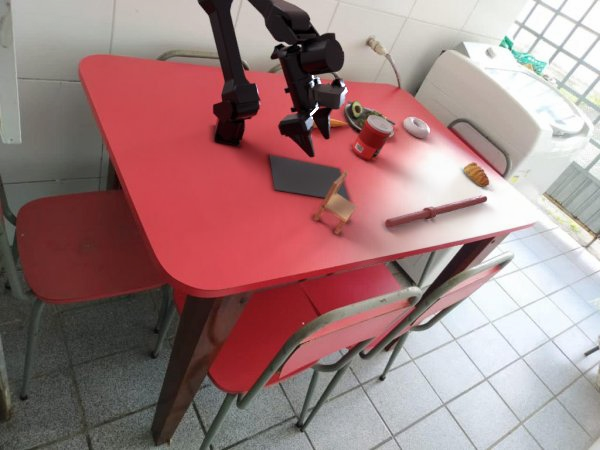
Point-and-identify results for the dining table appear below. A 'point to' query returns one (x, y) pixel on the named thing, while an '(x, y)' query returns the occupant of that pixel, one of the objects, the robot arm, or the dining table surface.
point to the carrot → (333, 123)
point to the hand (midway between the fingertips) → (320, 147)
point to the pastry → (476, 174)
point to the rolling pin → (433, 211)
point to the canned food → (372, 137)
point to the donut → (416, 127)
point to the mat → (304, 177)
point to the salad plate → (360, 115)
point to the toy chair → (337, 204)
